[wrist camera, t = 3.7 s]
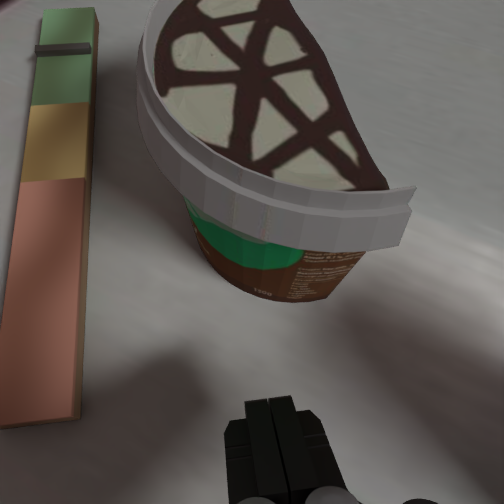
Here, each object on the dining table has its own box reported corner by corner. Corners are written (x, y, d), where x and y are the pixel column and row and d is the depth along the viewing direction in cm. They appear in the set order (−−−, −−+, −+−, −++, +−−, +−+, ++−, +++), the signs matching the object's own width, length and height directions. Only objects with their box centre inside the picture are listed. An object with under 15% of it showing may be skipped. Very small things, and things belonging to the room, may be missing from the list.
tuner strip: (98, 23, 28) (91, 1, 26) (80, 419, 17) (66, 414, 16) (50, 26, 27) (41, 3, 26) (1, 429, 17) (-19, 425, 15)
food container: (148, 146, 23) (94, -53, 14) (257, 124, 24) (269, -76, 15) (203, 367, 18) (170, 270, 9) (338, 328, 19) (427, 205, 10)
